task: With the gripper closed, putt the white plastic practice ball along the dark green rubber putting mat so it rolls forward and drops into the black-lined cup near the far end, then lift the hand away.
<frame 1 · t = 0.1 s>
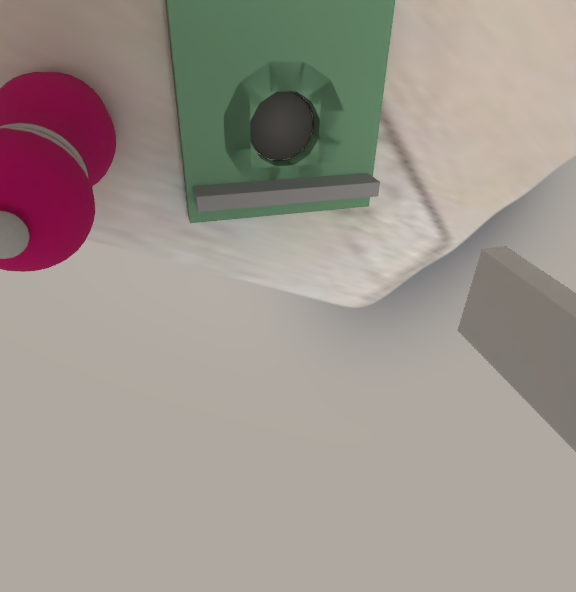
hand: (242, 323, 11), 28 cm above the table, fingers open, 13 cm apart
putting mat: (281, 24, 33), on the table
pepper mill: (63, 119, 32), on the table
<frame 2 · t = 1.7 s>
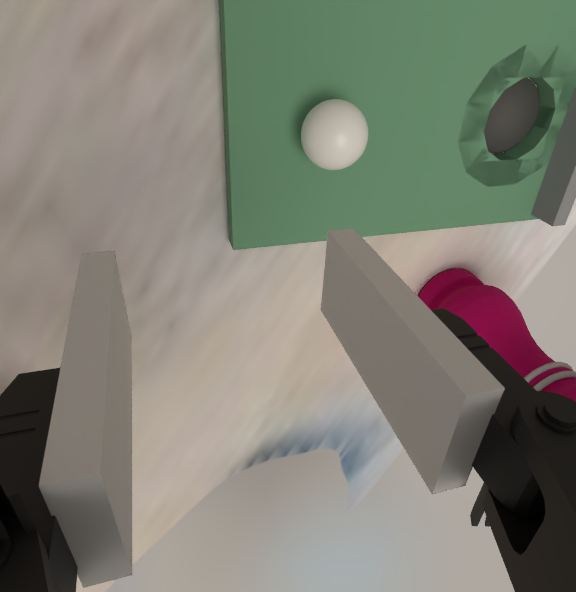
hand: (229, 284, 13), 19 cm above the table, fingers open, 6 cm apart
putting mat: (421, 118, 32), on the table
pepper mill: (444, 295, 42), on the table
ball: (334, 135, 27), point 4 cm above the table, touching putting mat
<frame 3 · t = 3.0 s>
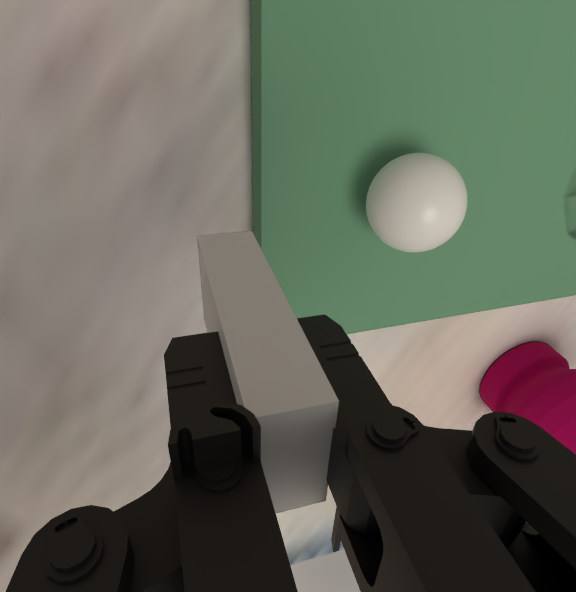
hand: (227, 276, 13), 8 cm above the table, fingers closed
putting mat: (514, 166, 24), on the table
pepper mill: (513, 372, 34), on the table
ball: (415, 203, 19), point 4 cm above the table, touching putting mat
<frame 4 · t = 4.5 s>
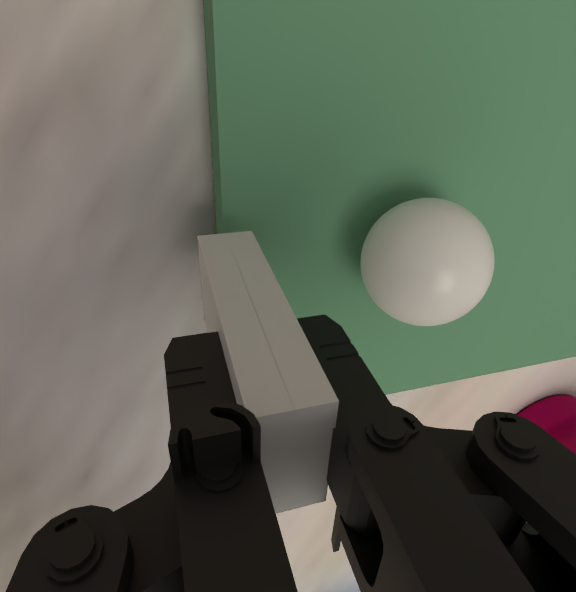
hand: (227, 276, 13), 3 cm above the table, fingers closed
putting mat: (546, 202, 19), on the table
pepper mill: (533, 426, 30), on the table
ball: (424, 262, 14), point 4 cm above the table, touching putting mat
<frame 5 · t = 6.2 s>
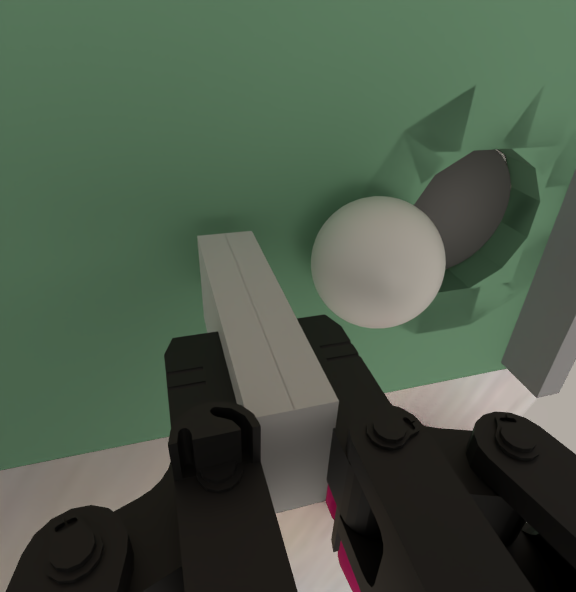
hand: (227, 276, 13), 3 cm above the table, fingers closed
putting mat: (277, 225, 16), on the table
pepper mill: (368, 465, 27), on the table
ball: (376, 263, 14), point 4 cm above the table, tilted 72°, touching putting mat
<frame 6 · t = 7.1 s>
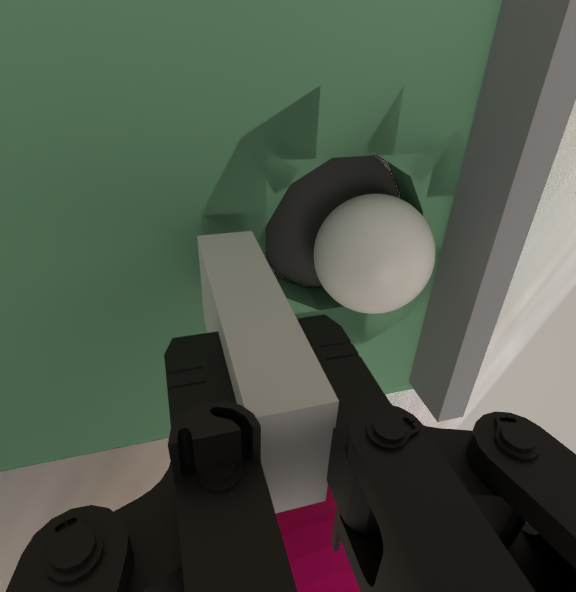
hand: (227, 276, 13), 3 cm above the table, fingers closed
putting mat: (129, 238, 15), on the table
pepper mill: (286, 486, 25), on the table
ball: (373, 254, 15), point 2 cm above the table, tilted 106°, touching putting mat
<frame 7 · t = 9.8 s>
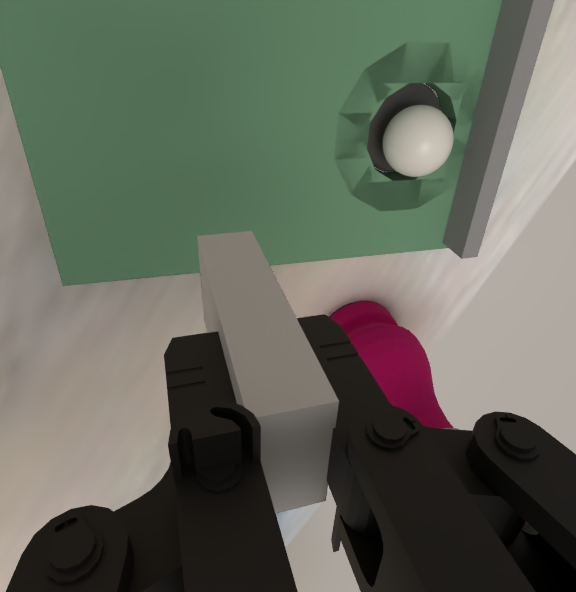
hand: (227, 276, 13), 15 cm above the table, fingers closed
putting mat: (291, 131, 27), on the table
pepper mill: (354, 330, 37), on the table
ball: (417, 141, 27), point 2 cm above the table, tilted 87°, touching putting mat
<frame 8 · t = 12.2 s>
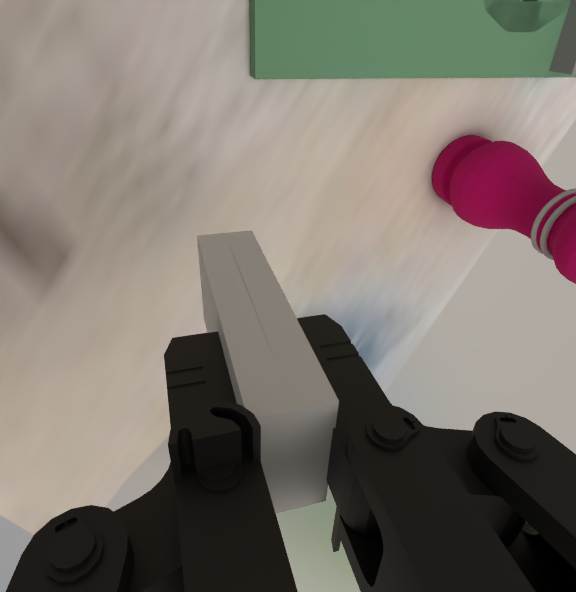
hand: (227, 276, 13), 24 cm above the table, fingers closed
pepper mill: (460, 168, 42), on the table
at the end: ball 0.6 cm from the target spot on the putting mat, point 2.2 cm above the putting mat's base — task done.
